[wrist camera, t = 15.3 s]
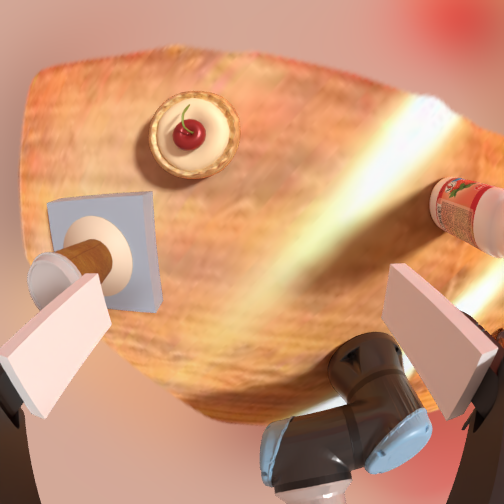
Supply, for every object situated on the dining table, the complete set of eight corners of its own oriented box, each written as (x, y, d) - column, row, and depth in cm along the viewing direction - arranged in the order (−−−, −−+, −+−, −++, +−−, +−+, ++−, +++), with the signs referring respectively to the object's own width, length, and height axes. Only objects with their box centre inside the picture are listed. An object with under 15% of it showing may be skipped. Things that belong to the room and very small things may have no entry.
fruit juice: (421, 222, 40) (549, 299, 14) (435, 168, 37) (576, 204, 11) (457, 235, 41) (570, 305, 14) (470, 186, 38) (593, 230, 11)
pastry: (166, 182, 39) (142, 192, 31) (156, 105, 35) (129, 96, 27) (247, 170, 38) (243, 176, 30) (237, 89, 34) (230, 73, 26)
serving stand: (163, 300, 45) (155, 314, 41) (77, 293, 45) (65, 304, 41) (152, 191, 39) (141, 195, 35) (60, 198, 39) (45, 203, 35)
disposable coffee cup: (93, 295, 40) (54, 336, 29) (62, 246, 37) (15, 275, 26) (133, 272, 39) (96, 314, 27) (100, 216, 36) (50, 241, 25)
